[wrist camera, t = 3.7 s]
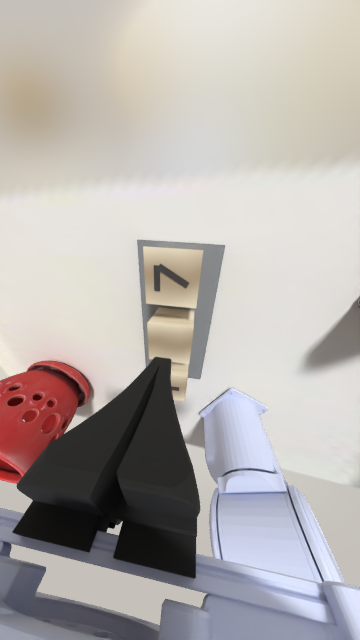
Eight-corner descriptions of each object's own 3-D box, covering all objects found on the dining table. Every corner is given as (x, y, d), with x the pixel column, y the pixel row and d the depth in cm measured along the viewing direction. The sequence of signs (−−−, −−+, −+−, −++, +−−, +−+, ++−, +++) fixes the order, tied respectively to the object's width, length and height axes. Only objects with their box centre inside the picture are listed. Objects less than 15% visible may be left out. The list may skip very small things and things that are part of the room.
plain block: (190, 340, 18) (189, 364, 14) (159, 336, 19) (149, 359, 15) (194, 310, 16) (193, 328, 12) (158, 307, 17) (147, 323, 13)
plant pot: (91, 359, 23) (-2, 449, 12) (100, 404, 29) (42, 492, 18) (20, 345, 23) (-130, 420, 13) (43, 392, 29) (-46, 471, 18)
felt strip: (200, 377, 22) (200, 379, 21) (147, 369, 22) (146, 371, 22) (224, 245, 13) (225, 245, 13) (138, 240, 14) (137, 239, 14)
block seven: (196, 294, 16) (196, 308, 11) (158, 291, 16) (145, 303, 12) (201, 252, 14) (203, 250, 9) (158, 249, 14) (142, 246, 10)
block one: (186, 374, 21) (184, 402, 17) (159, 370, 22) (150, 396, 17) (189, 351, 19) (187, 377, 15) (159, 348, 20) (149, 372, 15)
